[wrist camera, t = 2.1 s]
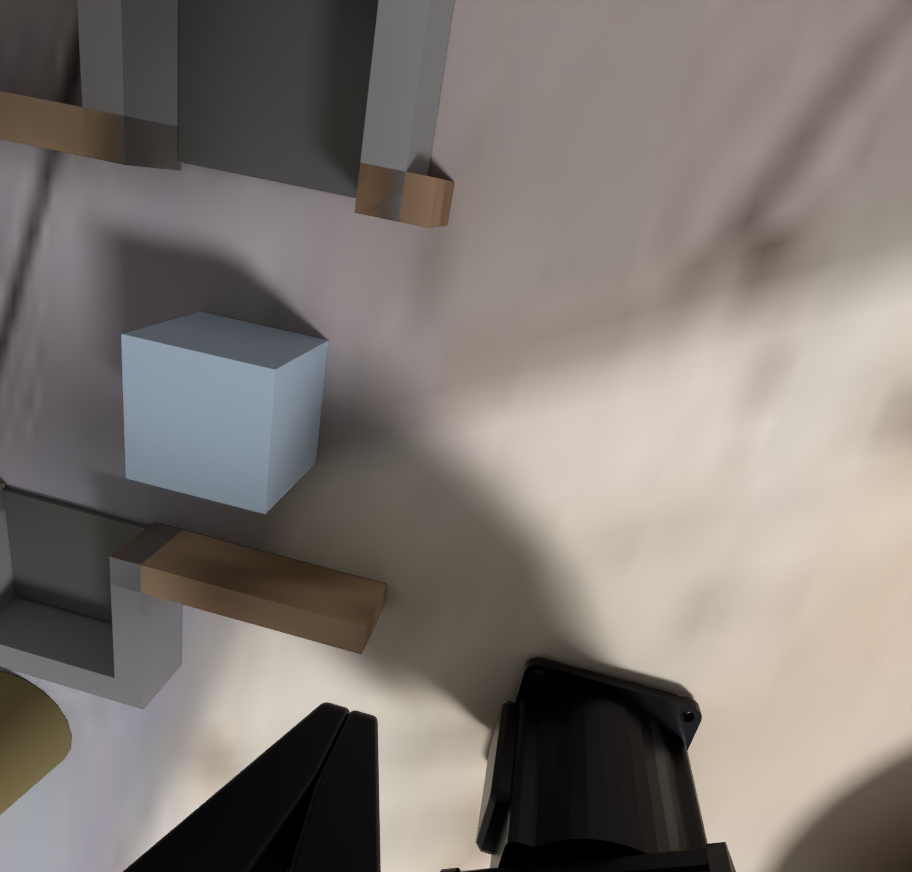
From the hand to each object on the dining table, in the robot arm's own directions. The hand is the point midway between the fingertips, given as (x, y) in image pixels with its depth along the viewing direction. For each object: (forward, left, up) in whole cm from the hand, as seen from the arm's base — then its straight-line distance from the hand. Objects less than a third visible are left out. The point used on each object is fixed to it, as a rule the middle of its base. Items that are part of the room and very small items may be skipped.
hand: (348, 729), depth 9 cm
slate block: (+8, 0, -12) cm, 14 cm away
